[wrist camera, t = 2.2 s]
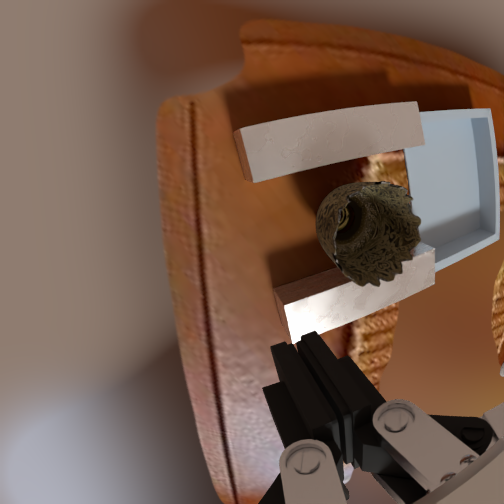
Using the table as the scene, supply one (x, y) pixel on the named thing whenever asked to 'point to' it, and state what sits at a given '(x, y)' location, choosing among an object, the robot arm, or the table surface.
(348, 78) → the table surface
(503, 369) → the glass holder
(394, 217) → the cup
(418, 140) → the groove rails
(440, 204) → the tray
